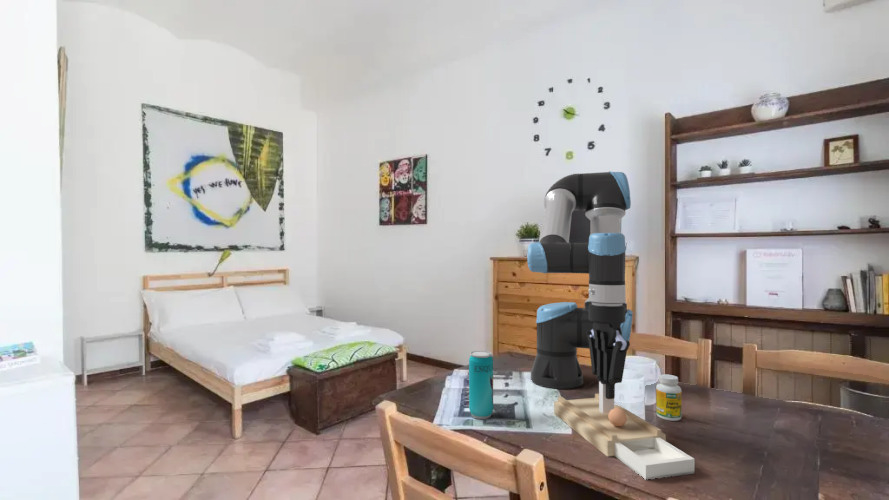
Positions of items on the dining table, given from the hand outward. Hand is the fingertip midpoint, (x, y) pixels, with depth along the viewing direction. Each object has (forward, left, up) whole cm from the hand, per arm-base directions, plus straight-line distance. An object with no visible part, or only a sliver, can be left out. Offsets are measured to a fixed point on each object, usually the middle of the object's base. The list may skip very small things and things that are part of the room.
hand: (606, 411), depth 95 cm
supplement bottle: (-4, +19, -5) cm, 20 cm away
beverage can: (-15, -24, -5) cm, 29 cm away
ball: (+4, 0, 0) cm, 4 cm away
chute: (-1, 0, -5) cm, 5 cm away
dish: (+14, 0, -5) cm, 15 cm away
